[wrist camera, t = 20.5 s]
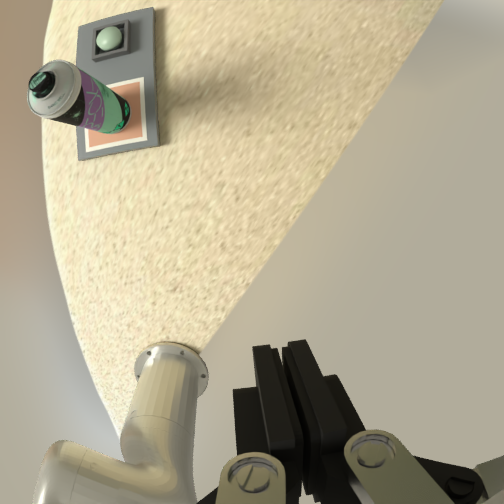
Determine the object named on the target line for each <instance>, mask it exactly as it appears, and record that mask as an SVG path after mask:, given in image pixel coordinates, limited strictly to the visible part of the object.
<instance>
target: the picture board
mask: <svg viewBox="0 0 504 504" xmlns="http://www.w3.org/2000/svg"><path fill="white" fill-rule="evenodd" d="M107 27H117V28H118V29H119V30H120V32H121V33H122V34H123V42H122V44H121V45H120V46H119V47H118V48H117V49H116V50H113V51H109V52H105V51H103V50H102V49H101V48H100V47H99V46H98V45H97V42H96V39H97V36H98V34H99V33H100V32H101V31H102V30H103V29H105V28H107ZM76 66H77V67H78V68H80V69H81V70H83V71H85V72H86V73H88V74H89V75H91V76H92V77H94V78H95V79H97V80H98V81H100V82H101V83H103V84H104V85H106V86H107V87H108V88H110V89H111V90H113V91H114V92H116V93H117V94H119V95H120V96H122V97H123V98H125V99H126V100H127V101H128V102H129V104H130V106H131V110H132V115H131V119H130V122H129V123H128V125H127V126H126V127H125V128H124V129H123V130H122V131H121V132H119V133H116V134H105V133H101V132H98V131H94V130H90V129H86V128H83V127H79V126H76V133H77V149H78V161H84V160H88V159H93V158H97V157H102V156H107V155H112V154H117V153H122V152H128V151H133V150H139V149H145V148H151V147H157V146H160V138H159V125H158V110H157V92H156V67H155V10H154V8H153V7H150V8H146V9H141V10H136V11H132V12H128V13H124V14H120V15H116V16H112V17H108V18H105V19H101V20H98V21H95V22H92V23H88V24H85V25H82V26H79V28H78V40H77V55H76Z"/></svg>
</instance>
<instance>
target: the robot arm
mask: <svg viewBox="0 0 504 504" xmlns="http://www.w3.org/2000/svg"><path fill="white" fill-rule="evenodd" d="M252 348H253V357H254V368H255V377H256V387H250V388H241V389H233V401H234V417H235V433H236V446H237V456H236V457H234V458H233V459H231V460H229V461H228V462H227V463H226V465H225V466H224V467H223V469H222V472H221V475H220V481H219V486H218V487H217V488H216V489H214V491H212V492H211V493H210V494H208V495H207V496H206V497H204V498H203V499H202V500H200V501H199V502H197V498H196V493H195V488H194V480H193V448H194V434H195V420H196V406H197V398H198V397H199V396H200V395H201V394H202V393H203V392H204V391H205V389H206V387H207V384H208V370H207V367H206V364H205V362H204V361H203V360H202V358H201V357H200V356H199V355H198V354H197V353H196V352H194V351H193V350H191V349H190V348H187V347H185V346H183V345H180V344H177V343H170V342H161V343H155V344H152V345H150V346H148V347H146V348H145V349H143V350H142V351H141V352H140V353H139V355H138V357H137V359H136V362H135V365H134V374H135V377H136V380H137V382H138V384H137V387H136V390H135V393H134V396H133V399H132V401H131V404H130V407H129V411H128V414H127V417H126V420H125V423H124V426H123V429H122V432H121V437H120V446H121V451H122V455H123V457H124V460H125V462H122V461H120V460H117V459H114V458H111V457H109V456H106V455H104V454H101V453H99V452H96V451H94V450H92V449H89V448H87V447H84V446H82V445H80V444H77V443H74V442H72V441H67V440H60V441H57V442H55V443H53V444H52V445H51V447H49V449H48V451H47V452H46V454H45V456H44V459H43V462H42V464H41V468H40V472H39V475H38V479H37V483H36V488H35V492H34V497H33V502H32V504H299V497H300V496H301V488H302V482H303V486H304V490H305V493H306V495H311V494H313V498H314V501H315V503H316V502H321V504H504V455H503V456H501V457H498V458H496V459H493V460H490V461H487V462H484V463H481V464H478V465H477V466H476V467H475V468H474V469H469V468H466V467H461V466H456V465H451V464H446V463H442V462H437V461H433V460H429V459H424V458H420V457H416V456H413V455H412V454H411V453H410V452H409V451H408V450H407V449H406V448H405V446H404V445H402V443H401V442H400V441H399V439H398V438H396V437H395V436H394V435H393V434H391V433H388V432H386V431H382V430H366V429H365V427H364V425H363V423H362V421H361V419H360V418H359V416H358V414H357V412H356V410H355V408H354V406H353V404H352V402H351V401H350V398H349V397H348V395H347V393H346V391H345V389H344V387H343V385H342V383H341V381H340V380H339V378H338V376H337V375H335V374H334V375H329V376H323V375H322V373H321V371H320V369H319V366H318V364H317V362H316V360H315V358H314V356H313V354H312V352H311V350H310V347H309V345H308V343H307V341H306V340H298V341H292V342H288V347H282V362H281V359H280V356H279V352H278V349H277V348H273V349H271V347H270V345H262V346H253V347H252ZM282 363H283V366H282Z"/></svg>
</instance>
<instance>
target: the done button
mask: <svg viewBox="0 0 504 504" xmlns="http://www.w3.org/2000/svg"><path fill="white" fill-rule="evenodd" d="M96 42H97V45H98V46H99V47H100V48H101V49H102V50H103V51H105V52H109V51H113V50H116V49H117V48H118V47H119V46H120V45H121V44H122V42H123V34H122V33H121V32H120V30H119V29H118V28H117V27H107V28H105V29H103V30H102V31H101V32H100V33H99V34H98V36H97V39H96Z"/></svg>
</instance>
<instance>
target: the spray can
mask: <svg viewBox="0 0 504 504" xmlns="http://www.w3.org/2000/svg"><path fill="white" fill-rule="evenodd" d="M27 101H28V105H29V107H30V109H31V110H32V112H33V113H35V114H36V115H39V116H40V117H43V118H46V119H51V120H55V121H59V122H63V123H67V124H71V125H75V126H79V127H83V128H86V129H90V130H94V131H98V132H101V133H105V134H116V133H119V132H121V131H122V130H123V129H124V128H125V127H126V126H127V125H128V123H129V122H130V119H131V115H132V110H131V106H130V104H129V102H128V101H127V100H126V99H125V98H123V97H122V96H120V95H119V94H117V93H116V92H114V91H113V90H111V89H110V88H108V87H107V86H106V85H104V84H103V83H101V82H100V81H98V80H97V79H95V78H94V77H92V76H91V75H89V74H88V73H86V72H85V71H83V70H81V69H80V68H78V67H77V66H75V65H74V64H72V63H70V62H67V61H64V60H54V61H51V62H48V63H47V64H45V65H44V66H42V67H41V68H40V69H39V70H38V71H37V72H36V73H35V74H34V75H33V76H32V77H31V79H30V81H29V88H28V93H27Z"/></svg>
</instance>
